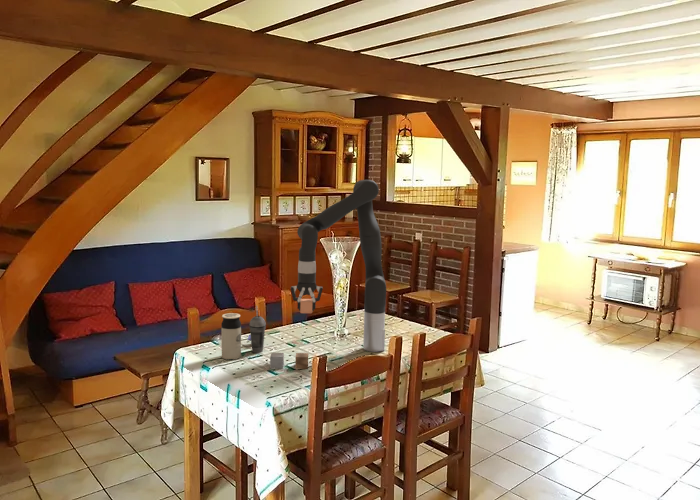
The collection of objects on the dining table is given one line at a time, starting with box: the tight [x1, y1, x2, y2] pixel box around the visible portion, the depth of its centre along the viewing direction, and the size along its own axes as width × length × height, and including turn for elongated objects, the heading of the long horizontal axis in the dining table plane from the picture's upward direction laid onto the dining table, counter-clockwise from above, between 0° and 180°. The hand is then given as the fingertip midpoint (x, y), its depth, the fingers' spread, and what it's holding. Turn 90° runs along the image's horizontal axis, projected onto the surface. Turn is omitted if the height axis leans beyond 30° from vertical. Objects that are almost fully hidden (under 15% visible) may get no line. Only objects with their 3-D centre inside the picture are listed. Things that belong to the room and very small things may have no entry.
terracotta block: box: [299, 298, 313, 314], centre depth 245 cm, size 5×5×5 cm
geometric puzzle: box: [246, 332, 251, 343], centre depth 258 cm, size 7×7×8 cm
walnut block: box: [294, 352, 309, 370], centre depth 232 cm, size 5×5×5 cm
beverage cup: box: [248, 305, 267, 354], centre depth 248 cm, size 7×7×20 cm
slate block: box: [269, 352, 285, 370], centre depth 231 cm, size 5×5×5 cm
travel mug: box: [220, 312, 242, 360], centre depth 240 cm, size 8×8×18 cm
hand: (306, 310), depth 245 cm, fingers closed on terracotta block, 5 cm apart
